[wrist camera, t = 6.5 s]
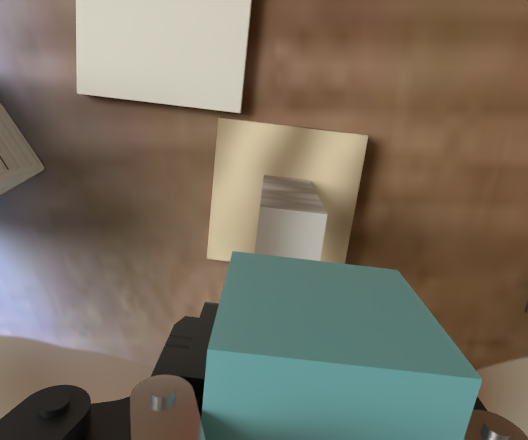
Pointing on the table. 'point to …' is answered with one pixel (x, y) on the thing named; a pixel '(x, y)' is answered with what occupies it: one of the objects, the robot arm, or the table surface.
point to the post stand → (284, 190)
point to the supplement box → (15, 155)
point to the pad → (164, 51)
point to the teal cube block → (330, 357)
